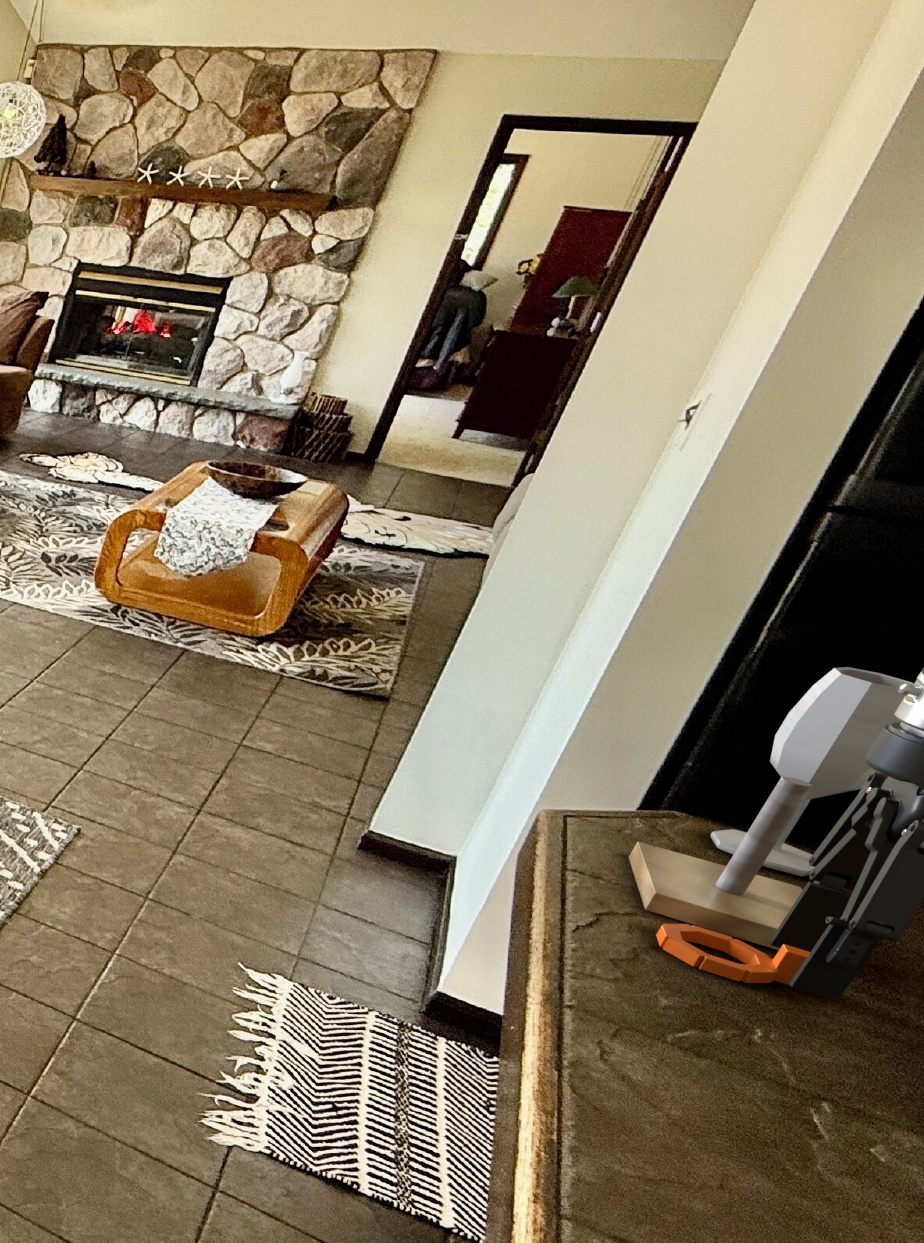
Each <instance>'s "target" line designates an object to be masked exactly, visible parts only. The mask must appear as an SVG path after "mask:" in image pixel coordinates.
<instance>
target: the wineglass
mask: <svg viewBox="0 0 924 1243" xmlns="http://www.w3.org/2000/svg"><path fill="white" fill-rule="evenodd" d="M903 684H913V685H914V684H915V683H914V682H911V681H908V680H905V679H901V678H898V677H894V676H891V675H887V674H884V673H881V672H875V671H870V670H865V669H860V668H854V667H849V666H845V667H843V666H842V667H833V668H832V669H831V670H830V671H828V672H827V673H826V674H825V675H824V676H823V677H821V678H820V679H819V680H817V681H816V682H815V683H814V684H813V685H812V686H811V687H810V688H809V689H808V690H807V692H806V693H805V694H804V695H803V696H802V697H801V698H800V700H798V702H797V703H796V704H795V705H794V706H793V708H791V709H790V711H788V713H787V715H786V717H785V718H784V720H783V721H782V724H781V725H780V727H779V728H778V730H777V731H776V733H775V735H774V739H773V745H772V750H771V754H770V759H769V762H770V764H771V765H772V766H773V768H774V769H775V771H776V772H777V773H778V775H779V777H780V778H781V777H791V778H796V779H799V780H802V781H805V782H807V783H809V784H811V785H812V787H811V788H810V790H809V792H808V793H807V795H806V796H805V798H804V800H803V801H802V803H801V804H800V806H799V807H798V809H797V811H796V812H795V814H794V815H793V817H792V819H791V820H790V822H789V823H788V825H787V827H786V828H785V830H784V831H783V833H782V834H781V836H780V838H779V839H778V841H777V842H776V844H775V846H774V847H773V849H772V850H771V852H770V854H769V855H768V857H767V858H766V860H765V861H764V863H763V865H762V866H761V867H765V868H769V869H773V870H777V871H779V872H783V873H788V874H792V875H796V876H798V877H810V872H811V870H812V869H814V868H815V867H813V866H809V863H808V862H809V858H810V857H811V856H812V855H813V854H811V853H809V852H807V851H804V850H802V849H799V848H797V847H794V846H792V845H789V844H787V843H785V842H786V840H787V838H788V837H789V835H790V834H791V832H792V830H793V829H794V828H795V826H796V824H797V823H798V821H799V819H800V818H801V816H802V814H803V813H804V811H805V810H806V808H807V806H808V805H809V803H810V802H811V800H815V799H819V798H824V797H829V796H834V795H838V794H843V793H847V792H852V791H857V790H861V788H862V787H863V785H864V783H865V781H866V777H867V776H868V775H870V773H872V772H878V771H876V770H874V769H873V768H871V767H870V766H869V765H868V764H867V763H866V761H865V756H866V755H867V753H868V751H869V750H870V748H871V747H872V745H873V744H874V742H875V741H876V739H877V737H878V736H879V734H880V733H881V731H882V730H883V728H884V727H885V725H889V724H891V723H894V722H901V721H899V720H898V718H897V717H896V716H895V714H894V713H895V712H896V710H897V708H898V707H899V705H900V704H901V702H902V700H903V699H904V697H905V695H902V694H900V693H899V692H898V690H899V688H900V686H901V685H903ZM878 773H880V772H878ZM746 834H747V832H746V831H743V830H738V829H734V828H731V829H723V830H722V829H721V830H713V831H712V832H711V833H710V838H711V840H712V842H713V843H714V844H715V846H716V848H717V849H719V850H721V851H724V852H725V853H729V854H731V855H732V856H733V855H734V853H735V851H736V850H737V848H738V847H739V845H740V843H741V842H742V840H743V838H744V837H745V835H746Z"/></svg>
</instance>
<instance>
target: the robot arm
mask: <svg viewBox="0 0 924 1243" xmlns="http://www.w3.org/2000/svg"><path fill="white" fill-rule="evenodd" d="M913 684H914V685H913ZM913 684H903V685H901V686H900V688H899V690H898V692H899V693H900V694H902V695H905V697H904V699H903V700H902V702H901V704H900V705H899V707H898V708H897V710H896V712H895V713H894V714H895V716H896V717H897V718H898V720H899V721H901V722H894V723H891V724H889V725H885V727H884V728H883V730H882V731H881V733H880V734H879V736H878V737H877V739H876V741H875V742H874V744H873V745H872V747H871V748H870V750H869V751H868V753H867V755H866V756H865V761H866V763H867V764H868V765H869V766H870V767H871V768H873V769H874V770H876V771H878V772H880V773H878V772H872V773H870V775H868V776H867V777H866V781H865V783H864V785H863V787H862V788H861V789H859V792H858V794H857V795H856V797H855V798H854V800H852V802H851V803H850V805H849V806H848V807H847V809H846V810H845V811H844V812H843V814H842V815H841V816H840V818H839V819H838V821H837V822H836V823H835V824H834V826H832V828H831V830H830V831H829V833H828V834H827V836H825V838H824V840H823V841H822V842H821V843H820V845H819V846H818V847H817V849H816V850H815V851H814V853H813V854H812V856H811V857H810V858H809V862H808V863H809V866H813V867H815V868H814V869H812V870H811V872H810V876H809V880H811V881H808V882H807V883H806V884H805V886H804V888H802V890H803V891H802V892H801V894H800V895H799V897H798V898H797V900H796V901H795V903H794V904H793V906H792V907H791V909H790V911H789V912H788V914H787V915H786V917H785V918H784V920H783V921H782V923H781V924H780V926H779V927H778V929H777V930H776V932H775V934H774V935H773V937H772V938H771V940H770V941H769V942H770V945H772V946H775V947H779V948H781V947H782V945H783V944H785V945H788V946H792V947H795V948H798V949H802V950H805V951H808V952H810V954H809V955H808V957H807V958H806V960H805V961H804V963H803V964H802V966H801V967H800V969H799V970H798V972H797V973H796V975H795V976H794V978H793V979H792V981H791V982H790V985H791V986H790V985H789V986H790V987H791V988H792V989H796V990H799V991H801V992H806V993H808V994H811V995H815V996H818V997H822V998H824V999H828V1000H831V1001H834V1002H839V1000H840V999H841V997H842V996H843V994H844V993H845V991H846V990H847V988H848V987H849V986H850V985H851V983H852V981H853V980H854V979H855V977H856V976H857V974H858V973H859V971H860V970H861V969H862V967H863V965H864V964H865V963H866V961H867V960H868V958H869V957H870V956H871V954H872V953H873V951H874V950H875V948H876V947H877V946H878V944H879V943H880V942H881V940H885V941H887V942H892V943H897V942H898V941H899V940H900V939H901V938H902V936H903V933H904V932H905V930H906V928H907V927H908V925H909V923H910V922H911V921H912V918H913V916H914V915H915V913H916V912H917V910H918V908H919V907H920V905H921V904H922V901H923V900H924V667H922V669H921V671H920V673H919V674H918V676H917V677H916V680H915V682H914V683H913ZM812 881H813V882H812ZM844 890H845V891H844ZM846 890H848V891H850V892H848V891H846Z"/></svg>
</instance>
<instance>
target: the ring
mask: <svg viewBox="0 0 924 1243" xmlns="http://www.w3.org/2000/svg"><path fill="white" fill-rule="evenodd" d="M655 936H656V940H657V943H658V945H659V947H660V948H662V950H664V951H665V952H667V953H669V954H670V955H672V956H674V957H675V958H677V959H679V960H680V961H683V962H684V963H686V964H688V965H690V966H691V967H697V968H698V969H699V970H701V971H704V972H707V973H711V974H714V975H716V976H720V977H723V978H726V979H729V980H732V981H735V982H742V983H745V984H771V983H772V982H773V981H774V982H777V983H779V984H784V985H786V986H790V987H791V985H790V982H791V981H792V979H793V978H794V976H795V975H796V973H797V972H798V970H799V969H800V967H801V966H802V964H803V963H804V961H805V960H806V958H807V957H808V955H809V954H810V952H808V951H805V950H802V949H798V948H795V947H792V946H788V945H785V944H783V945H782V947H781V948H780V950H777V952H776V954H775V956H774V957H773V958H771V957H770V955H769V954H767V953H765V952H763V951H761V950H759V949H757V948H755V947H753V946H752V945H749V944H747V943H746V942H744V941H742V940H741V939H739V938H733V936H730V935H726V934H723V933H720V932H717V931H713V930H710V929H707V928H703V927H700V926H697V925H693V924H692V925H691V924H690V923H663V924H662V925H661V926H660V928H659V929H658V931H657V932H656V934H655ZM691 943H695V944H698V945H701V946H705V947H707V948H711V949H714V950H717V951H720V952H724V953H725V954H727V955H729V956H731V957H733V958H735V959H736V960H738V961H740V962H742V963H741V964H740V963H737V962H734V961H731V960H728V959H725V958H721V957H719V956H716V955H712V954H709V953H707V952H706V951H703V950H701V949H700V948H698V947H696V946H695V945H692V944H691Z"/></svg>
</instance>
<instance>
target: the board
mask: <svg viewBox="0 0 924 1243" xmlns="http://www.w3.org/2000/svg"><path fill="white" fill-rule="evenodd" d="M811 787H812V785H811V784H809V783H807V782H805V781H802V780H799V779H796V778H791V777H781V776H780V779H779V780H778V782H777V783H776V785H775V786H774V788H773V789H772V792H771V793H770V795H769V796H768V798H767V800H766V801H765V803H764V804H763V806H762V807H761V809H760V811H759V812H758V813H757V815H756V818H755V819H754V821H753V822H752V824H751V826H750V827H749V828H748V831H747V832H746V833H747V834H746V835H745V837H744V838H743V840H742V842H741V843H740V845H739V847H738V848H737V850H736V851H735V853H734V855H733V854H732V856H731V858H730V860H729V861H728V863H727V864H726V865H723V864H719V863H716V862H713V861H709V860H706V859H701V858H698V857H695V856H692V855H689V854H683V853H680V852H678V851H674V850H669V849H667V848H663V847H659V846H655V845H652V844H648V843H645V842H641V841H637V842H636V844H634V847H633V848H632V850H631V852H630V854H629V856H628V861H629V863H630V867H631V870H632V873H633V876H634V878H635V883H636V885H637V889H638V891H639V892H638V893H639V894H640V898H641V902H642V904H643V907H644V910H645V911H647V912H651V913H654V914H657V915H661V916H664V917H667V918H671V919H674V920H677V921H681V922H684V923H686V924H689V925H692V926H693V925H695V926H698V927H701V928H704V929H708V930H711V931H714V932H718V933H721V934H724V935H728V936H731V937H732V938H735V939H739V940H743V941H747V942H748V943H749V942H750V943H754V944H757V945H759V946H763V947H767V948H770V949H773V950H776V951H779V950H780V948H779V947H775V946H772V945H770V942H769V941H770V940H771V938H772V937H773V935H774V934H775V932H776V930H777V929H778V927H779V926H780V924H781V923H782V921H783V920H784V918H785V917H786V915H787V914H788V912H789V911H790V909H791V907H792V906H793V904H794V903H795V901H796V900H797V898H798V897H799V895H800V894H801V892H802V891H803V888H802V887H801V886H798V885H795V884H791V883H788V882H784V881H781V880H777V879H773V878H769V877H766V876H762V875H759V874H758V873H759V871H760V869H761V868H762V867H763V866H762V865H763V863H764V861H765V860H766V858H767V857H768V855H769V854H770V852H771V850H772V849H773V847H774V846H775V844H776V842H777V841H778V839H779V838H780V836H781V834H782V833H783V831H784V830H785V828H786V827H787V825H788V823H789V822H790V820H791V819H792V817H793V815H794V814H795V812H796V811H797V809H798V807H799V806H800V804H801V803H802V801H803V800H804V798H805V796H806V795H807V793H808V792H809V790H810V788H811Z"/></svg>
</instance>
